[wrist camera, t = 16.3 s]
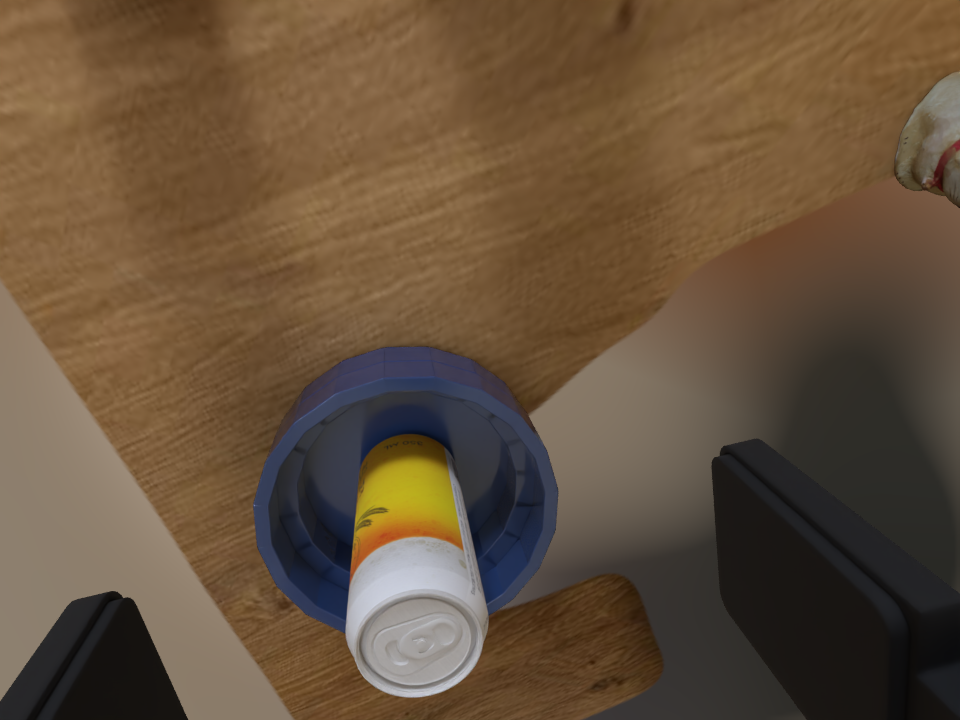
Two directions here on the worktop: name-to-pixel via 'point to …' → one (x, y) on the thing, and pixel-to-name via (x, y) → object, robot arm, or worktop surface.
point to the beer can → (413, 572)
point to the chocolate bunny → (933, 143)
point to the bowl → (374, 418)
